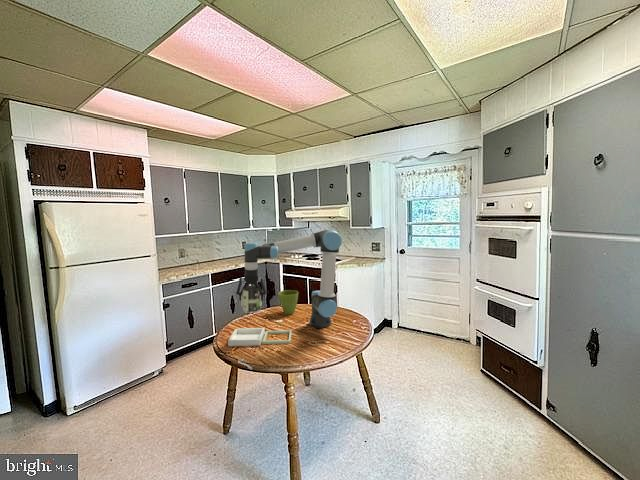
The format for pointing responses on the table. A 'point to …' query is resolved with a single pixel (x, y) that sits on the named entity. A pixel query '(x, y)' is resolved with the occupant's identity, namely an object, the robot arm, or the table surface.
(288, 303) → the flower pot
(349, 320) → the table surface
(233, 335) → the bin
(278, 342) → the frame
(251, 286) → the coffee can
